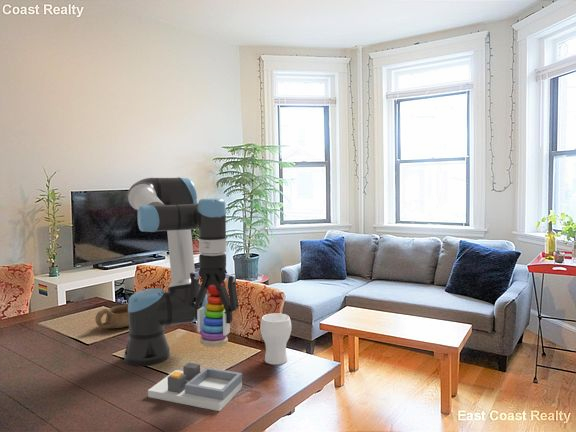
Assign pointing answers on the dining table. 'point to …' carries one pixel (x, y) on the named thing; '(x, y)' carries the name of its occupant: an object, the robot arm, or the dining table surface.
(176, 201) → the robot arm
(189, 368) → the toggle
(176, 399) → the panel
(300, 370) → the dining table surface
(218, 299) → the stacking toy
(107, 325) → the brown mug
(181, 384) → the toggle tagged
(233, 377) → the frame
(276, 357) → the cup
